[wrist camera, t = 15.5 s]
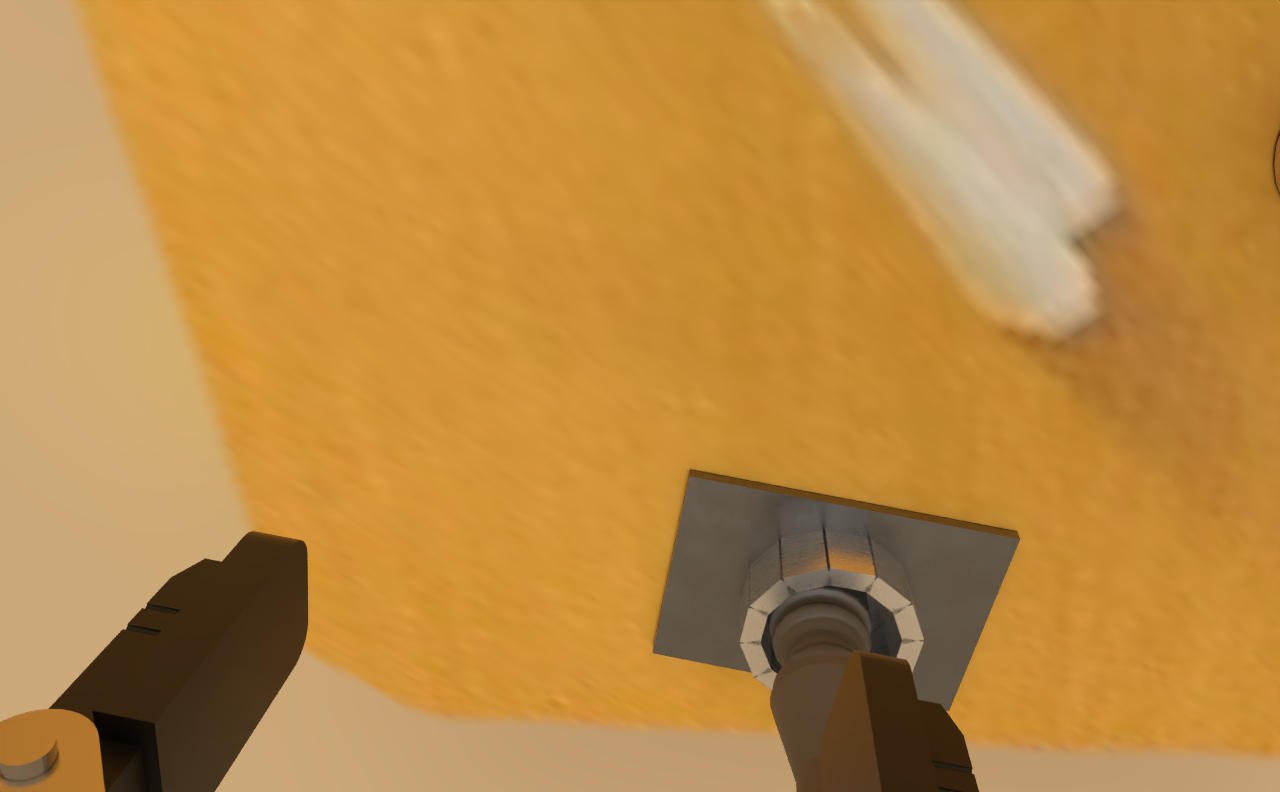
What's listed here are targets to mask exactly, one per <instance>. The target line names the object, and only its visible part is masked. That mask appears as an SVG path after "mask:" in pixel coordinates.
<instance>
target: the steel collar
mask: <svg viewBox="0 0 1280 792" xmlns="http://www.w3.org/2000/svg"><path fill="white" fill-rule="evenodd" d="M1019 540H1020V538H1019V536H1018V534H1017V531H1011V530H1006V529H1001V528H996V527H990V526H985V525H980V524H974V523H969V522H964V521H959V520H953V519H948V518H943V517H937V516H932V515H927V514H922V513H916V512H911V511H906V510H900V509H895V508H890V507H885V506H879V505H874V504H869V503H864V502H858V501H853V500H848V499H842V498H837V497H832V496H827V495H821V494H816V493H811V492H805V491H800V490H795V489H790V488H784V487H779V486H774V485H769V484H763V483H758V482H753V481H747V480H742V479H737V478H732V477H726V476H721V475H716V474H710V473H705V472H700V471H695V470H690V473H689V478H688V483H687V488H686V493H685V497H684V502H683V507H682V512H681V516H680V521H679V526H678V531H677V536H676V540H675V545H674V550H673V555H672V560H671V564H670V569H669V574H668V579H667V583H666V588H665V593H664V598H663V603H662V607H661V612H660V617H659V622H658V627H657V631H656V636H655V641H654V646H653V653H655V654H660V655H665V656H670V657H675V658H680V659H685V660H690V661H696V662H701V663H706V664H711V665H716V666H721V667H726V668H731V669H737V670H742V671H747V672H752V674H753V676H755V679H757V680H758V681H760V682H761V683H762V684H764V685H765V686H767V687H768V688H769V689H771V690H772V688H773V684H774V680H775V677H776V675H777V673H778V672H779V671H780V670H781V669H782V666H781V664H780V663H779V662H778V661H777V659H776V655H775V652H774V649H773V645H772V641H771V638H770V634H769V631H768V623H767V617H768V614H770V613H771V612H772V611H773V610H774V609H776V608H777V607H778V606H779V605H780V604H781V603H783V602H784V601H785V600H786V599H787V598H788V597H790V596H791V595H792V594H793V593H798V592H802V591H806V590H810V589H814V588H819V587H823V586H827V585H832V586H837V587H842V588H848V589H853V590H858V591H863V592H866V594H867V599H868V605H869V610H870V616H871V621H872V627H873V629H872V632H871V636H870V640H871V649H870V653H875V654H880V655H885V656H891V657H896V658H901V659H905V660H907V661H908V662H909V664H910V667H911V671H912V675H913V680H914V684H915V688H916V693H917V697H918V700H923V701H928V702H933V703H938V704H941V705H942V706H943V708H944V709H945V710H946V711H949V710H950V707H951V705H952V703H953V700H954V698H955V695H956V693H957V690H958V688H959V686H960V683H961V681H962V678H963V676H964V674H965V671H966V669H967V666H968V664H969V661H970V659H971V657H972V654H973V652H974V649H975V647H976V645H977V642H978V640H979V637H980V635H981V632H982V630H983V628H984V625H985V623H986V620H987V618H988V615H989V613H990V611H991V608H992V606H993V603H994V601H995V599H996V596H997V594H998V591H999V589H1000V586H1001V584H1002V582H1003V579H1004V577H1005V574H1006V572H1007V569H1008V567H1009V565H1010V562H1011V560H1012V557H1013V555H1014V553H1015V550H1016V548H1017V545H1018V543H1019Z"/></svg>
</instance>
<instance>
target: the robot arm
mask: <svg viewBox="0 0 1280 792" xmlns="http://www.w3.org/2000/svg"><path fill="white" fill-rule="evenodd" d="M1274 168H1275V177H1276V184H1277V187H1278V189H1279V192H1280V136H1279V139H1278V142H1277V146H1276V154H1275V162H1274ZM307 628H308V564H307V547H306V544H305V543H304V541H302V540H297V539H291V538H286V537H281V536H276V535H271V534H266V533H261V532H255V531H251V532H249V533H247V534H246V535H245V536H244V537H243V538H242V539H241V540H240V542H239V543H238V544H237V545H236V546H235V547H234V548H233V550H232V551H231V552H230V553H229V554H228V555H227V557H226V558H225V559H224V560H223V561H222V562H220V561H215V560H210V559H204V560H202V561H200V562H198V563H196V564H195V565H193V566H191V567H189V568H187V569H186V570H184V571H182V572H180V573H178V574H177V575H175V576H173V577H171V578H170V579H169V580H168V581H167V582H166V584H165V585H164V586H163V587H162V588H161V589H160V590H159V591H158V592H157V593H156V594H155V596H153V597H152V598H151V599H150V601H149V602H148V603H147V606H146V608H145V609H143V608H142V609H141V610H140V611H139V613H137V615H136V616H135V617H134V618H133V619H132V620H131V621H130V622H129V623H128V626H127V629H126V630H122V631H121V632H120V633H119V634H118V635H117V636H116V637H115V638H114V639H113V640H112V641H111V643H110V644H109V645H108V646H107V647H106V648H105V649H104V650H103V651H102V652H101V653H100V654H99V655H98V656H97V658H96V659H95V660H94V661H93V662H92V663H91V664H90V665H89V666H88V667H87V668H86V669H85V670H84V671H83V673H82V674H81V675H80V676H79V677H78V678H77V679H76V680H75V681H74V682H73V683H72V684H71V685H70V687H69V688H68V689H67V690H66V691H65V692H64V693H63V694H62V695H61V696H60V697H59V698H58V699H57V701H56V702H55V703H54V704H53V705H52V706H51V707H50V708H49V709H45V710H36V711H31V712H26V713H23V714H19V715H16V716H13V717H11V718H8V719H6V720H3V721H2V722H0V792H215V790H216V788H217V787H218V786H219V784H220V782H221V781H222V779H223V778H224V776H225V775H226V773H227V772H228V770H229V768H230V767H231V765H232V764H233V762H234V761H235V759H236V758H237V756H238V754H239V753H240V751H241V750H242V748H243V747H244V745H245V743H246V742H247V740H248V739H249V737H250V736H251V734H252V733H253V731H254V729H255V728H256V726H257V725H258V723H259V722H260V720H261V718H262V717H263V715H264V714H265V712H266V711H267V709H268V707H269V706H270V704H271V703H272V701H273V700H274V698H275V697H276V695H277V693H278V692H279V690H280V689H281V687H282V686H283V684H284V682H285V681H286V679H287V678H288V676H289V675H290V673H291V672H292V670H293V668H294V667H295V665H296V663H297V661H298V659H299V657H300V654H301V652H302V649H303V646H304V643H305V639H306V634H307ZM821 779H822V790H823V792H979V790H978V787H977V783H976V779H975V776H974V774H972V765H971V761H970V758H969V754H968V750H967V747H966V743H965V739H964V736H963V734H962V733H961V731H960V730H959V729H958V727H957V726H956V724H955V723H954V722H953V720H952V719H951V717H950V716H949V715H948V713H947V712H946V711H945V709H944V708H943V706H942V705H941V704H938V703H933V702H928V701H923V700H918V697H917V693H916V688H915V684H914V680H913V675H912V671H911V667H910V664H909V662H908V661H907V660H905V659H901V658H896V657H891V656H885V655H880V654H875V653H870V652H865V651H860V650H854V651H853V652H852V653H851V655H850V657H849V660H848V662H847V665H846V668H845V671H844V674H843V677H842V680H841V683H840V686H839V689H838V692H837V695H836V698H835V701H834V704H833V707H832V710H831V713H830V716H829V719H828V722H827V725H826V728H825V733H824V738H823V744H822V752H821Z"/></svg>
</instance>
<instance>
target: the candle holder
mask: <svg viewBox="0 0 1280 792" xmlns="http://www.w3.org/2000/svg"><path fill="white" fill-rule="evenodd" d="M767 623H768V631H769V634H770V638H771V641H772V645H773V649H774V652H775V655H776V659H777V661H778V662H779V663H780V664H781V666H782V669H781V670H780V671H779V672H778V673H777V675H776V677H775V680H774V684H773V688H772V693H771V697H770V706H771V710H772V713H773V716H774V719H775V723H776V726H777V728H778V731H779V734H780V737H781V740H782V743H783V746H784V748H785V751H786V754H787V757H788V760H789V763H790V766H791V769H792V772H793V775H794V778H795V781H796V787H797V792H823V790H822V779H821V752H822V744H823V738H824V733H825V728H826V725H827V722H828V719H829V716H830V713H831V710H832V707H833V704H834V701H835V698H836V695H837V692H838V689H839V686H840V683H841V680H842V677H843V674H844V671H845V668H846V665H847V662H848V660H849V657H850V655H851V653H852V652H853V651H854V650H860V651H865V652H870V649H871V640H870V636H871V632H872V629H873V627H872V621H871V616H870V610H869V605H868V599H867V594H866V592H863V591H858V590H853V589H848V588H842V587H837V586H832V585H827V586H823V587H819V588H814V589H810V590H806V591H802V592H798V593H793V594H792V595H791V596H790V597H788V598H787V599H786V600H785V601H784V602H783V603H781V604H780V605H779V606H778V607H777V608H776V609H774V610H773V611H772V612H771V613H770V614H768V617H767Z"/></svg>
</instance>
